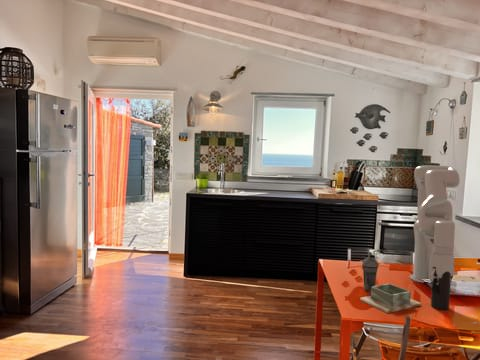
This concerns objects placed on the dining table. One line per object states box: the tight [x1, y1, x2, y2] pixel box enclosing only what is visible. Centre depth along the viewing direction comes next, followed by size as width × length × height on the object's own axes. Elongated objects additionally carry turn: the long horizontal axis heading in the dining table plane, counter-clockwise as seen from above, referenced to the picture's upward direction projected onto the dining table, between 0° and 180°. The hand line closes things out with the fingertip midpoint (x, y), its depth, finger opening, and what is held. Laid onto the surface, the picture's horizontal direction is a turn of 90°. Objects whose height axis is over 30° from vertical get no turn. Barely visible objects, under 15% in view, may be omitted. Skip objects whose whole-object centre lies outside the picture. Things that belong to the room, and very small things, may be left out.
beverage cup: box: [361, 247, 379, 292], centre depth 175 cm, size 7×7×20 cm
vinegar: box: [430, 271, 451, 311], centre depth 155 cm, size 7×7×20 cm
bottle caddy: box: [359, 283, 422, 314], centre depth 159 cm, size 20×15×6 cm
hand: (441, 291), depth 155 cm, fingers closed on vinegar, 5 cm apart
